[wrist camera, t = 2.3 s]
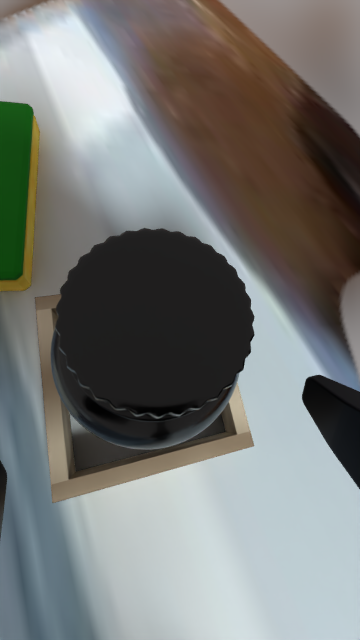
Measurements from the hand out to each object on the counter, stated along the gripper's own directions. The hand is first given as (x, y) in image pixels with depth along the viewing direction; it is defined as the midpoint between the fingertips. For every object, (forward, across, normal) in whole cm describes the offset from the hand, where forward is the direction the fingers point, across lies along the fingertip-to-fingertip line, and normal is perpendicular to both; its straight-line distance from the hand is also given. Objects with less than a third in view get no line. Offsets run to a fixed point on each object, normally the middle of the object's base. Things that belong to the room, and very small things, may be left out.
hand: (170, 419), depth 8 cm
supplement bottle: (+9, 0, +5) cm, 10 cm away
